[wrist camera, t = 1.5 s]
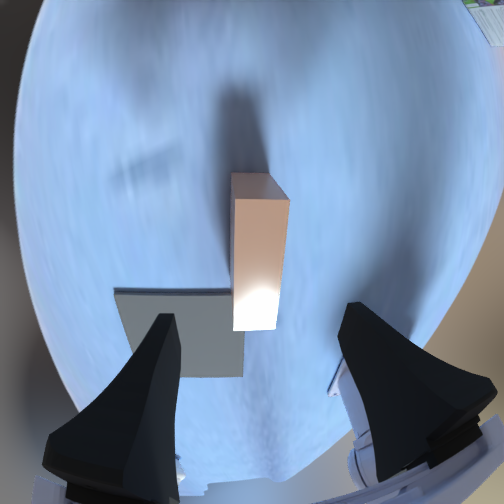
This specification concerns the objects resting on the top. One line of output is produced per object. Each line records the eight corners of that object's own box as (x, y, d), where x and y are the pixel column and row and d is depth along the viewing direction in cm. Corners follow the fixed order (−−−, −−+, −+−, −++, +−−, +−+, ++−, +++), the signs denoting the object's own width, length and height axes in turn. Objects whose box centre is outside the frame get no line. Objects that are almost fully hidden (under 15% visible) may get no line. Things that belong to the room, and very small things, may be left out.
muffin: (149, 455, 40) (147, 484, 34) (173, 453, 39) (172, 485, 33) (168, 464, 43) (167, 491, 37) (191, 462, 42) (191, 491, 36)
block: (271, 173, 18) (293, 200, 12) (263, 275, 21) (277, 329, 16) (231, 172, 17) (235, 199, 12) (229, 276, 21) (233, 330, 16)
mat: (245, 292, 22) (245, 295, 22) (242, 373, 27) (242, 376, 27) (114, 291, 21) (113, 294, 20) (141, 372, 26) (141, 374, 26)
